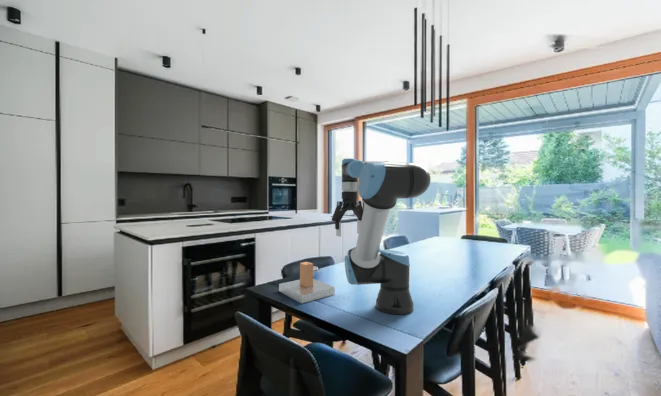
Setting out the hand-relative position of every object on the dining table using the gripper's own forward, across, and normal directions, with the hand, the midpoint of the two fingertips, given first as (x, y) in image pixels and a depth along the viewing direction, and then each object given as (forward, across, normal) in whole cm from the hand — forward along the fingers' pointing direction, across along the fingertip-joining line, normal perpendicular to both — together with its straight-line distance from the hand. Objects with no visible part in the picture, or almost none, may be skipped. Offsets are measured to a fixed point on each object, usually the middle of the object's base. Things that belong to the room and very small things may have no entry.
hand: (349, 234), depth 144 cm
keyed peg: (+27, +19, -9) cm, 34 cm away
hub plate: (+27, +19, -9) cm, 34 cm away
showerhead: (+27, +6, -26) cm, 38 cm away
